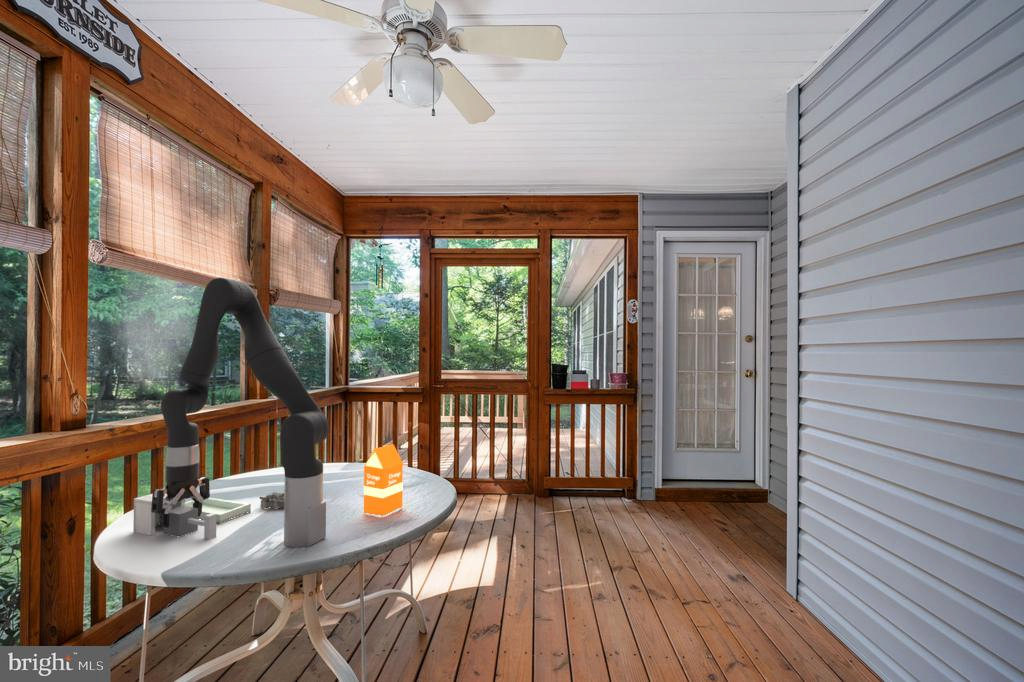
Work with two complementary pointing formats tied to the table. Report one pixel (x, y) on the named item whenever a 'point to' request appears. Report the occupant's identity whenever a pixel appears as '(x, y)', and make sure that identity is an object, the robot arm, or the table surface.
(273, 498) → the egg carton
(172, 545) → the table surface
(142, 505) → the bay
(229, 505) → the tray
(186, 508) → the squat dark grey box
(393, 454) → the orange juice
